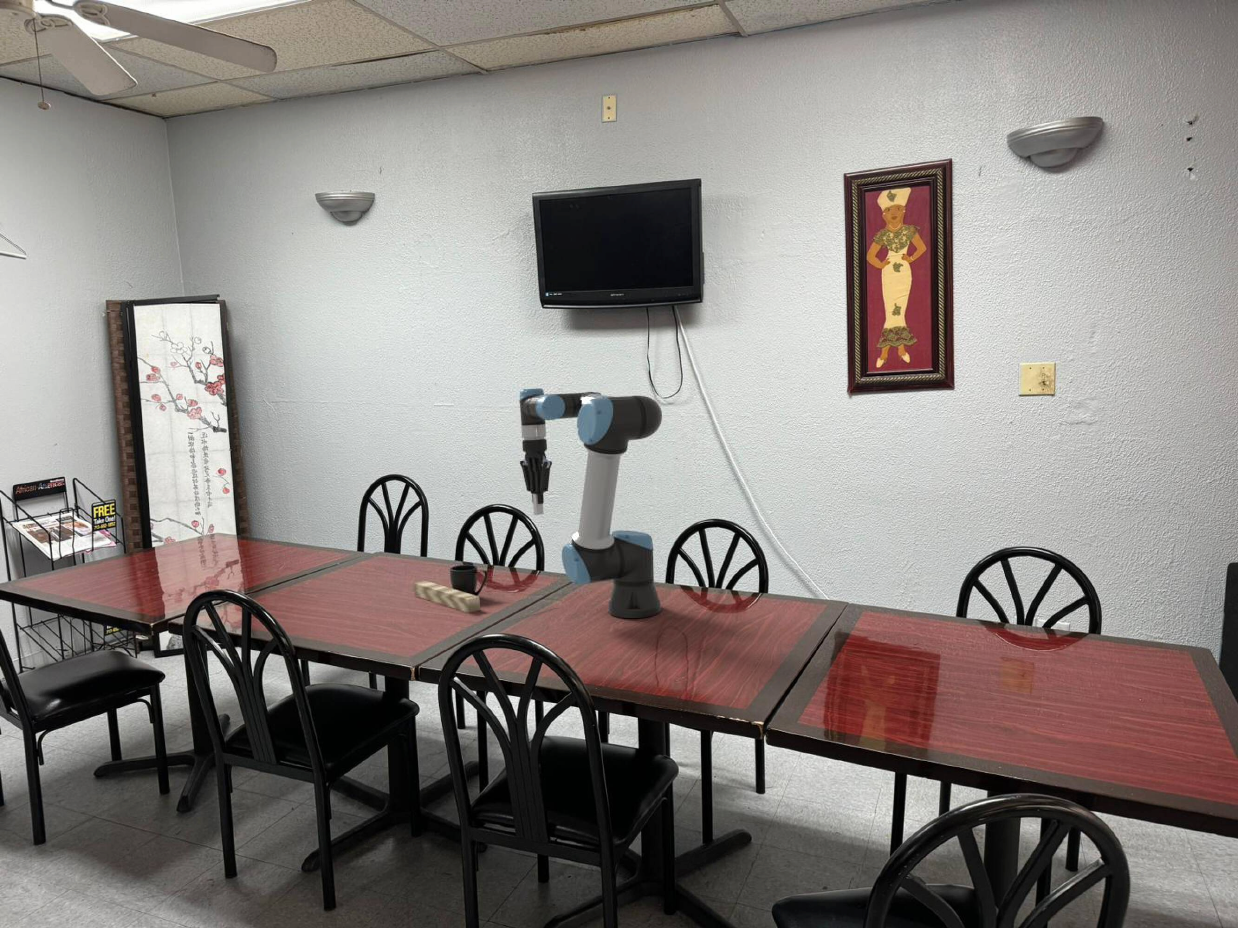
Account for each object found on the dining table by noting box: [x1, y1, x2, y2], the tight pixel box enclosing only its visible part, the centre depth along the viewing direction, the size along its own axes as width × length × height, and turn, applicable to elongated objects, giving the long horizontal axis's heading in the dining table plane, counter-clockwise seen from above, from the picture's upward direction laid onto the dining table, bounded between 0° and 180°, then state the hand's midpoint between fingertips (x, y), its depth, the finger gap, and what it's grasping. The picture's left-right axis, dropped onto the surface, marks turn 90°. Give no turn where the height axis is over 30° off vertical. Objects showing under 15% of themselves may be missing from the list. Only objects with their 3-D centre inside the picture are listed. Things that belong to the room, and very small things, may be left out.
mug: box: [449, 564, 489, 596], centre depth 272 cm, size 8×12×10 cm
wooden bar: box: [413, 580, 481, 614], centre depth 268 cm, size 30×4×4 cm, turn 43°
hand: (538, 514), depth 275 cm, fingers closed
